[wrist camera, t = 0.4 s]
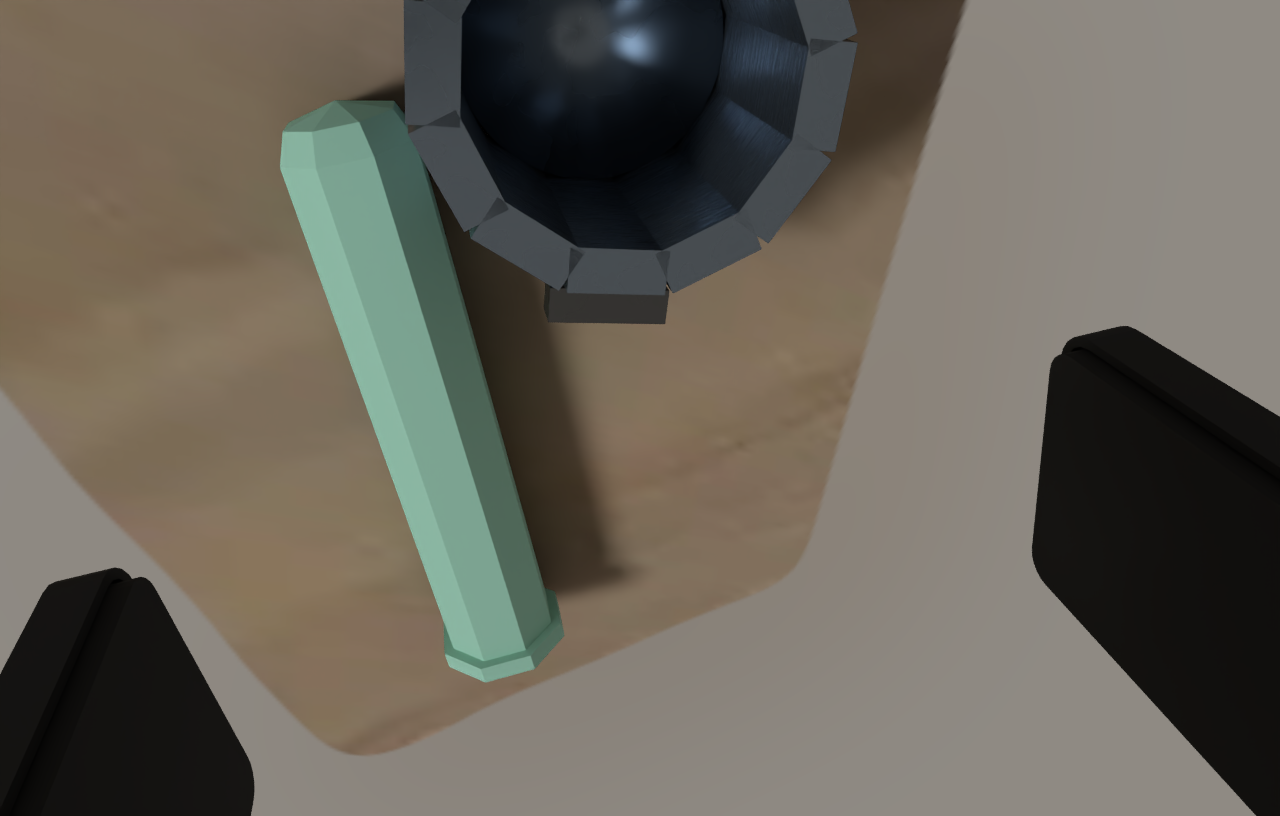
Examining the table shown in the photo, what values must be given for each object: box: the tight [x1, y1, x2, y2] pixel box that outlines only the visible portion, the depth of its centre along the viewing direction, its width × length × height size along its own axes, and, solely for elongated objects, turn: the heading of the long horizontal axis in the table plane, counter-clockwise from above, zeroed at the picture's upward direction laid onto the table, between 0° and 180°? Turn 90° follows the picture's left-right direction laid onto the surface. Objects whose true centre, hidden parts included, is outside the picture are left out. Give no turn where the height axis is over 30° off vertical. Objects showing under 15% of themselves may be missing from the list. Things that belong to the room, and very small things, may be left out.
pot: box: [404, 0, 858, 324], centre depth 30 cm, size 16×13×9 cm
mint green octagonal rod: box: [280, 100, 564, 682], centre depth 38 cm, size 6×6×25 cm
